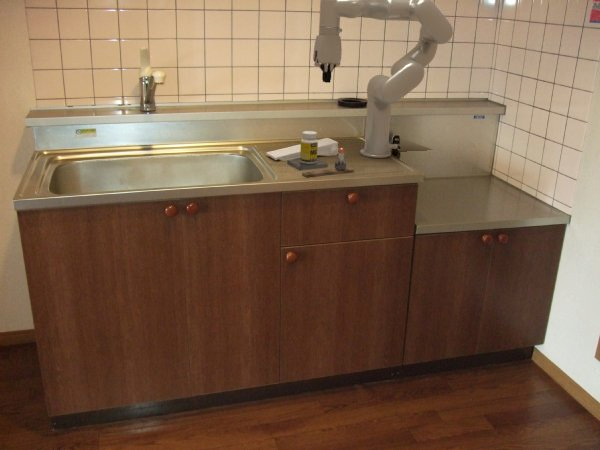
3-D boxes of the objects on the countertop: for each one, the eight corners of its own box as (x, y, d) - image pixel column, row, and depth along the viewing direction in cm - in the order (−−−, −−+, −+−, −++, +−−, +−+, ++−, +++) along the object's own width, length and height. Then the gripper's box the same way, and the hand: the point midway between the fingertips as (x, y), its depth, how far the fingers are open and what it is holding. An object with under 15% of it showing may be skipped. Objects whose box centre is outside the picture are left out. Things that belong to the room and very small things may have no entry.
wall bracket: (277, 175, 235) (338, 159, 246) (277, 159, 231) (340, 144, 242) (265, 163, 242) (326, 148, 253) (265, 147, 237) (327, 132, 249)
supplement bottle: (311, 165, 225) (312, 135, 221) (296, 162, 228) (297, 132, 224) (320, 161, 230) (321, 132, 226) (305, 158, 233) (306, 129, 229)
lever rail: (349, 169, 226) (349, 167, 225) (353, 171, 223) (354, 169, 223) (302, 175, 217) (302, 172, 216) (305, 177, 214) (306, 174, 214)
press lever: (342, 167, 223) (343, 146, 221) (345, 169, 221) (347, 148, 218) (334, 168, 222) (335, 147, 219) (338, 169, 220) (339, 148, 217)
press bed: (314, 160, 236) (315, 157, 236) (327, 167, 228) (327, 164, 227) (287, 163, 231) (287, 160, 230) (299, 170, 223) (299, 167, 222)
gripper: (341, 31, 231) (338, 80, 238) (306, 31, 225) (304, 81, 232) (351, 32, 225) (348, 82, 232) (316, 32, 219) (314, 84, 225)
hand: (326, 82), depth 232 cm, fingers closed
